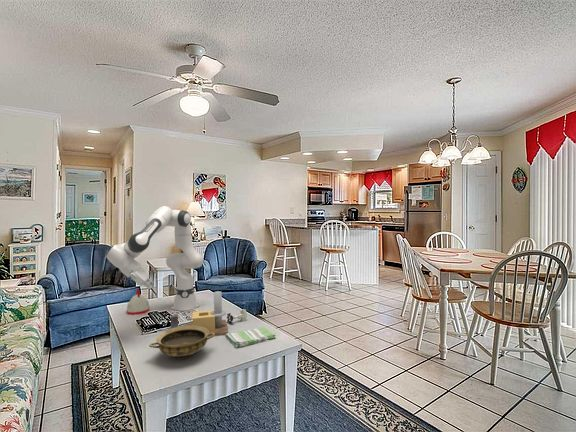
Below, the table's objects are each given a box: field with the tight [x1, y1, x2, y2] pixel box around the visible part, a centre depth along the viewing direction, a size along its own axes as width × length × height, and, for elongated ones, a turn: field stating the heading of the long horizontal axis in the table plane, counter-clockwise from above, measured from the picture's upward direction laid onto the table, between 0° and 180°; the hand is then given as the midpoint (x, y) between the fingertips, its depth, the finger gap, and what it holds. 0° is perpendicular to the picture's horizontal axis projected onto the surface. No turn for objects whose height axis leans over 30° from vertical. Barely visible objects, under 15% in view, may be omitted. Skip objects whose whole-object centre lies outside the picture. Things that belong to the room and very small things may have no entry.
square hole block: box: [192, 290, 227, 331], centre depth 180 cm, size 12×18×20 cm, turn 106°
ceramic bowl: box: [148, 325, 215, 359], centre depth 150 cm, size 30×24×10 cm
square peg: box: [170, 314, 179, 329], centre depth 175 cm, size 4×4×10 cm
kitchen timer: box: [126, 289, 150, 316], centre depth 214 cm, size 14×14×15 cm
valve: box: [226, 308, 248, 325], centre depth 193 cm, size 7×7×12 cm
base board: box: [185, 319, 229, 338], centre depth 180 cm, size 20×23×2 cm
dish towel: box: [224, 326, 276, 349], centre depth 169 cm, size 17×23×4 cm
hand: (152, 286), depth 171 cm, fingers open, 8 cm apart
